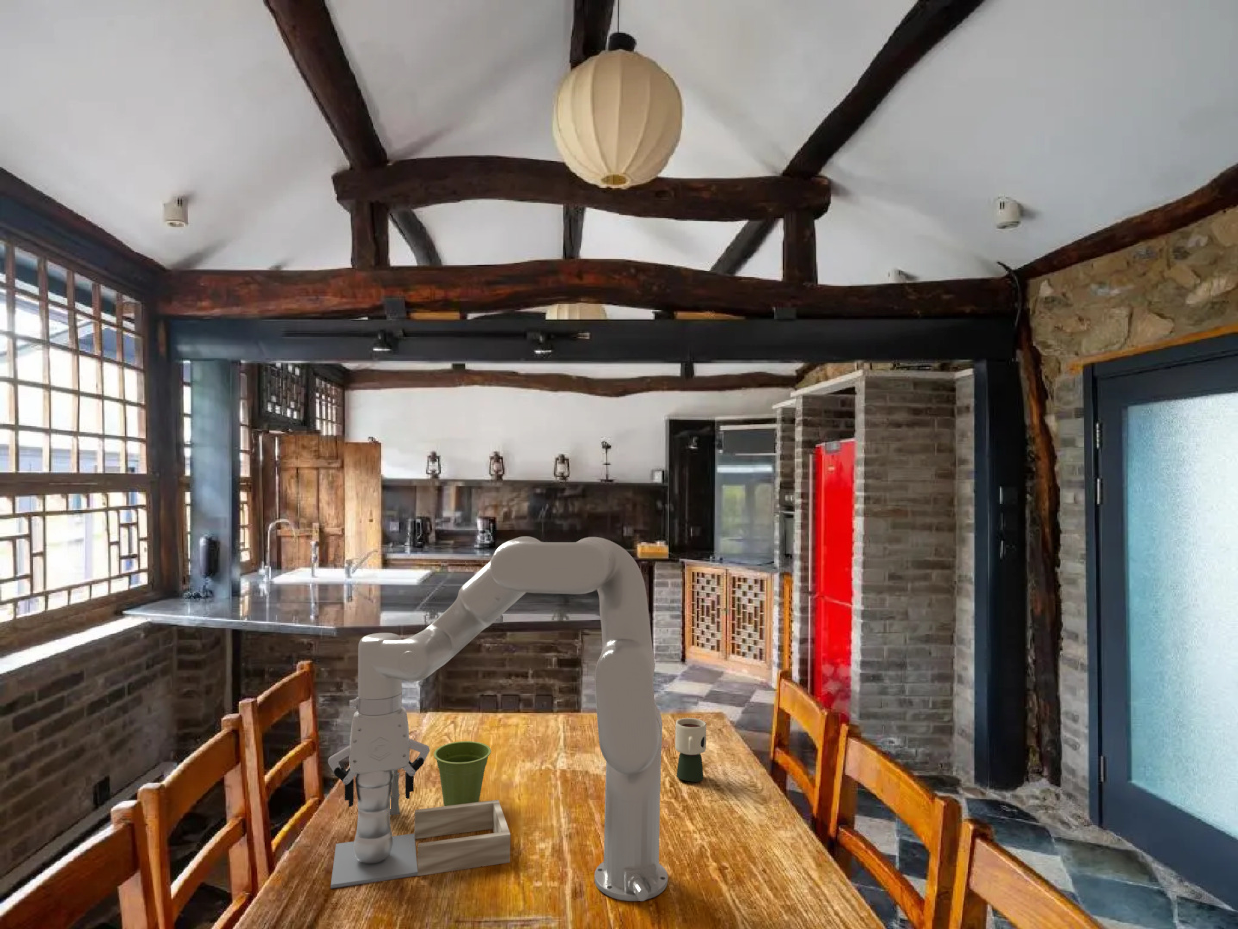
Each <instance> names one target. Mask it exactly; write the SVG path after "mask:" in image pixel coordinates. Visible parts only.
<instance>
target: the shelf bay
mask: <svg viewBox="0 0 1238 929" xmlns="http://www.w3.org/2000/svg"><path fill="white" fill-rule="evenodd" d="M502 809H503V808H502V806H501V804H500V800H499V799H494V800H493V799H492V800H484V801H479V802H475V803H467V804H459V805H451V806H444V805H443V806H434V807H427V808H419V809H415V810H414V831H413V832H414V833H413V834H414V835H415V840H417V839H418V840H419V839H425V838H426V839H427V838H433V837H439V836H449V835H454V834H455V835H456V834H462V833H463V834H464V833H470V832H478V831H484V830H492V831H493V833H486V834H485V833H484V834H479V835H478V834H477V835H471V836H465V837H458V838H457V837H455V838H448V839H441V840H434V841H427V842H426V841H425V842H419V843H417V870H418V875H417V876H418V877H420V876H426V875H428V876H429V875H433V874H434V875H435V874H442V873H447V872H452V871H453V872H454V871H461V870H468V869H474V868H475V869H476V868H480V867H481V866H482V867H488V866H493V865H495V866H496V865H499V864H500V865H501V864H507V863H511V832H510V829H509V826H508V823H507V821H506V818H505V814H504V812H503V810H502Z"/></svg>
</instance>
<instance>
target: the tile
mask: <svg viewBox="0 0 1238 929" xmlns="http://www.w3.org/2000/svg"><path fill="white" fill-rule="evenodd" d="M392 838H393V845H392V850H391V853H390V854H389V856H388V857H387V858H386V859H385V860H383V861H380V862H377V863H369V864H368V863H362V862H360V861H359V860H358V859H357V858H356V857H355V853H354V841H355V840H354V841H353V840H352V841H347V842H339V843H335V850H334V858H333V863H332V864H333V866H332V873H331V882H330V889H337V888H342V887H343V888H344V887H350V886H355V885H357V886H358V885H362V884H369V883H377V882H382V881H392V880H397V879H404V878H410V877H416V876H418V870H417V864H418V857H417V850H416V849H417V847H416V839H415V835H414V833H407V834H401V835H392Z"/></svg>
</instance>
